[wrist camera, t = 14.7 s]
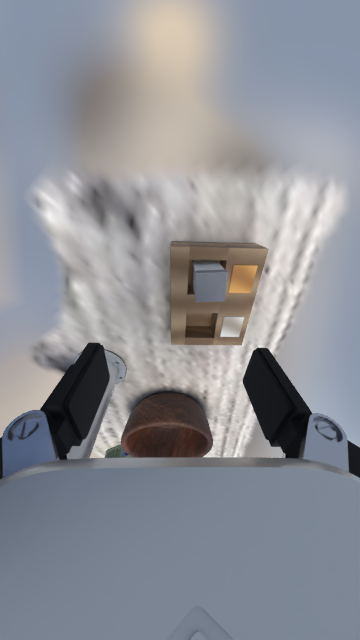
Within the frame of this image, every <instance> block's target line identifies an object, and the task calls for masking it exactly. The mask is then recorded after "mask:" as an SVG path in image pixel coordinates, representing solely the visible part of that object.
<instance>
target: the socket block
mask: <svg viewBox="0 0 360 640" xmlns="http://www.w3.org/2000/svg"><path fill="white" fill-rule="evenodd" d="M267 253H268V249H267V248H265V247H263V246H260V245H258V244H256V243H219V242H179V241H172V242H171V344H179V345H242V341H243V338H244V334H245V331H246V327H247V324H248V320H249V317H250V313H251V309H252V306H253V302H254V299H255V295H256V292H257V288H258V285H259V281H260V278H261V274H262V270H263V267H264V263H265V260H266V256H267ZM192 260H217V261H218V262H219V263H220V264H221V266H222V267H223V268H224V269H226V270H227V271H228V278H227V286H226V295H225V301H220V302H195V294H194V289H193V284H192Z"/></svg>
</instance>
